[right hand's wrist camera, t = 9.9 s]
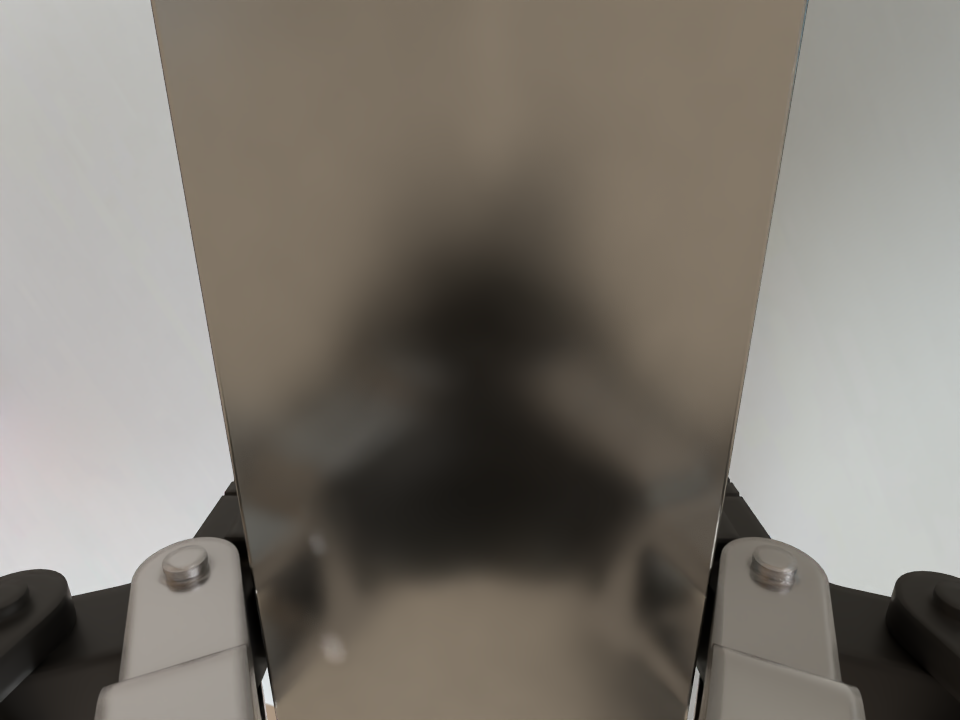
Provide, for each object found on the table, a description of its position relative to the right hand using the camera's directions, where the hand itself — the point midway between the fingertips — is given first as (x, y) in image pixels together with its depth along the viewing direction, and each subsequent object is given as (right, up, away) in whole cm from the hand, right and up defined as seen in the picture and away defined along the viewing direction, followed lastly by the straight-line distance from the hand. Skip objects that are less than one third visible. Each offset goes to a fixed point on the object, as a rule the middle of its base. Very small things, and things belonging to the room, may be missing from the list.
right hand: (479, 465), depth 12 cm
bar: (0, +9, +1) cm, 9 cm away
